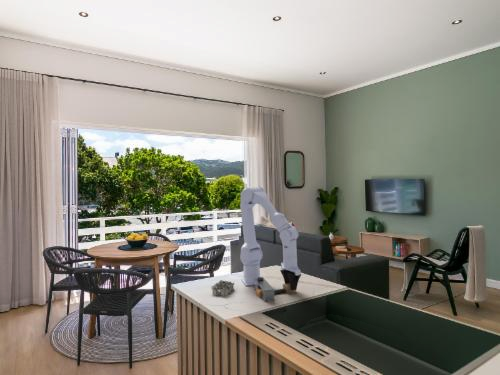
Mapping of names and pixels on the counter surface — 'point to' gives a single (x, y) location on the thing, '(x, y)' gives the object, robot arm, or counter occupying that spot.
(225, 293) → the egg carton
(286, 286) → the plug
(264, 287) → the motor housing
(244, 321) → the counter surface
